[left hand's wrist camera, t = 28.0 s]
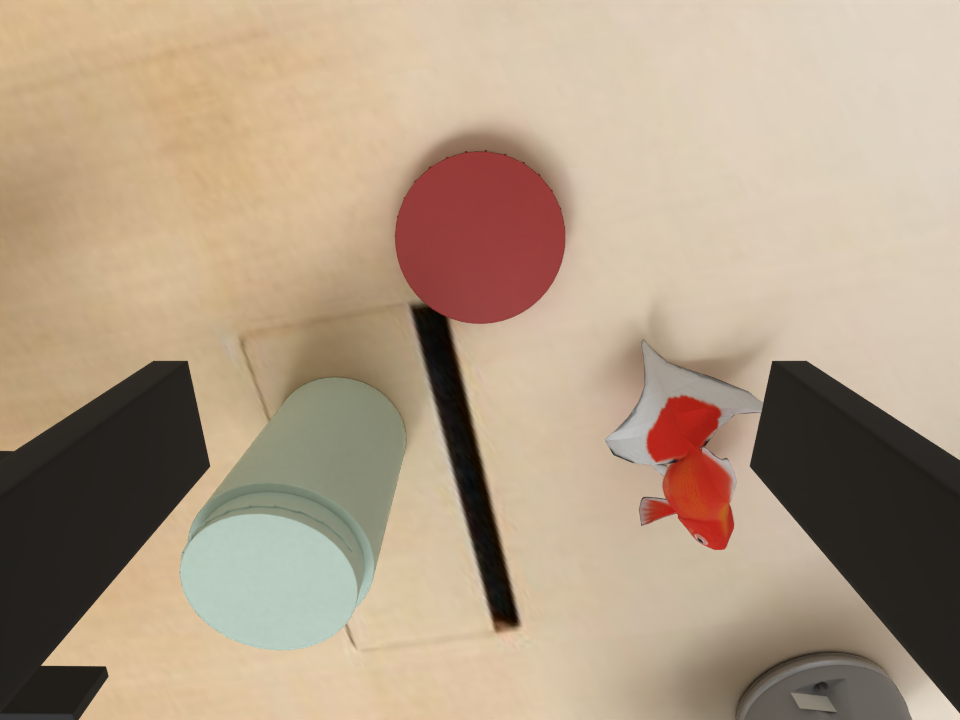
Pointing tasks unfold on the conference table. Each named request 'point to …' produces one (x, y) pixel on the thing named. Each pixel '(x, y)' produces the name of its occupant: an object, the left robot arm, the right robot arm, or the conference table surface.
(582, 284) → the conference table surface
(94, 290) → the conference table surface
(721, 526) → the fish
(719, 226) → the conference table surface
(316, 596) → the jar
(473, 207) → the lid
